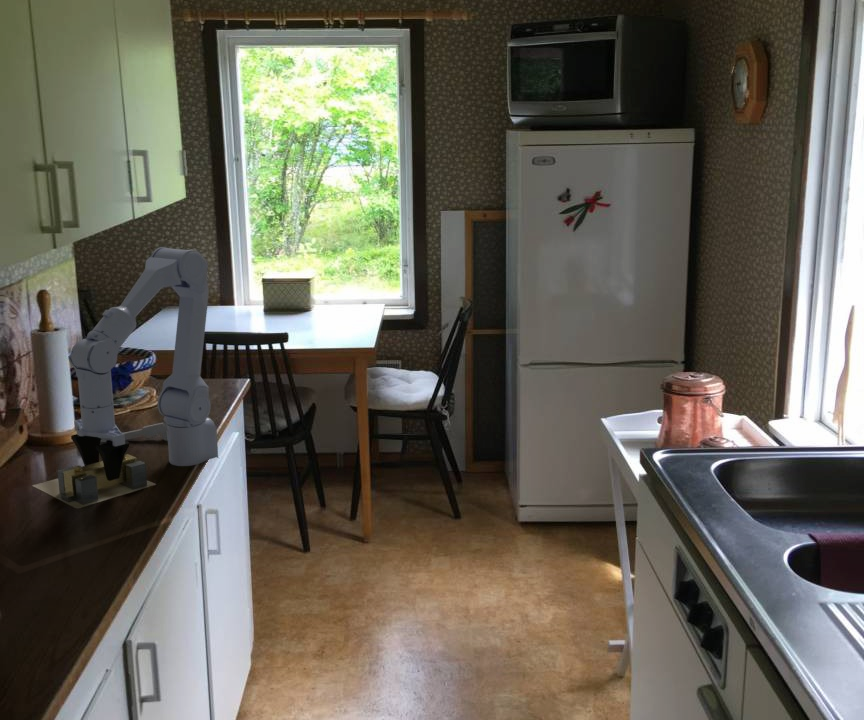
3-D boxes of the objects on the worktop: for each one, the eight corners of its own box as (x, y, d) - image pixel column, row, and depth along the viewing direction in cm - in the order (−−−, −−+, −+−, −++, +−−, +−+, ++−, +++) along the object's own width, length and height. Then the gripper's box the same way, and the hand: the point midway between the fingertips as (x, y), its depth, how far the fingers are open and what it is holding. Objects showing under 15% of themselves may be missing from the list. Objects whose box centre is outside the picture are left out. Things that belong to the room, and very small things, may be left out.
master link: (129, 473, 175) (127, 450, 174) (137, 477, 173) (136, 453, 172) (65, 492, 166) (62, 467, 165) (73, 496, 164) (71, 471, 163)
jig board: (109, 467, 184) (109, 464, 183) (156, 488, 173) (156, 484, 173) (32, 489, 172) (31, 485, 172) (77, 512, 161) (77, 508, 161)
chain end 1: (74, 489, 170) (72, 466, 169) (98, 500, 165) (96, 477, 164) (53, 495, 167) (51, 472, 166) (76, 507, 162) (74, 483, 160)
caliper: (178, 443, 200) (176, 415, 199) (177, 444, 199) (175, 417, 198) (82, 446, 198) (80, 418, 196) (81, 447, 197) (78, 420, 195)
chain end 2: (128, 473, 178) (127, 451, 177) (152, 483, 173) (151, 461, 172) (109, 479, 175) (107, 457, 174) (133, 489, 170) (131, 467, 169)
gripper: (56, 401, 168) (63, 470, 171) (97, 416, 159) (103, 489, 162) (92, 393, 173) (97, 461, 176) (133, 408, 164) (138, 479, 167)
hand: (102, 474), depth 169 cm, fingers open, 7 cm apart
